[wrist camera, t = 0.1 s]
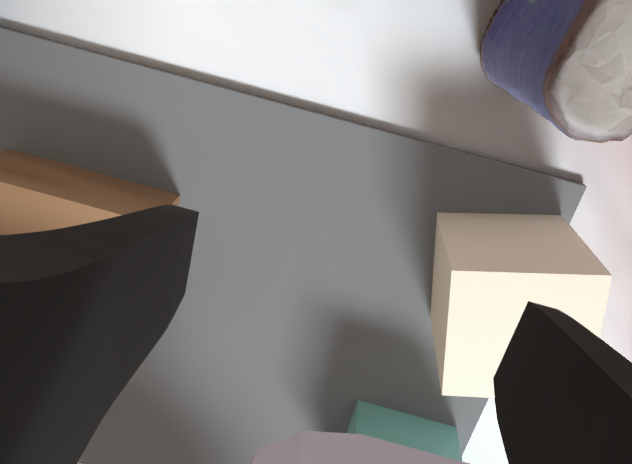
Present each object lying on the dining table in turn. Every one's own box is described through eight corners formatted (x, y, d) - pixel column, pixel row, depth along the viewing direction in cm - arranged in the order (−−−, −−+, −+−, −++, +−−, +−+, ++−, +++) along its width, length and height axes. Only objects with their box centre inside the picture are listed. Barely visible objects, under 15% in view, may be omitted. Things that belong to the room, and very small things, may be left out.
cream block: (544, 321, 22) (586, 403, 18) (430, 316, 23) (441, 395, 18) (561, 215, 21) (612, 275, 16) (437, 212, 21) (451, 270, 17)
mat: (415, 550, 28) (415, 555, 28) (-42, 423, 29) (-46, 427, 28) (583, 184, 20) (586, 186, 20) (-48, 13, 21) (-54, 13, 20)
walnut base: (157, 340, 25) (129, 382, 22) (5, 298, 25) (-42, 335, 22) (180, 195, 22) (151, 222, 19) (9, 148, 22) (-44, 169, 19)
